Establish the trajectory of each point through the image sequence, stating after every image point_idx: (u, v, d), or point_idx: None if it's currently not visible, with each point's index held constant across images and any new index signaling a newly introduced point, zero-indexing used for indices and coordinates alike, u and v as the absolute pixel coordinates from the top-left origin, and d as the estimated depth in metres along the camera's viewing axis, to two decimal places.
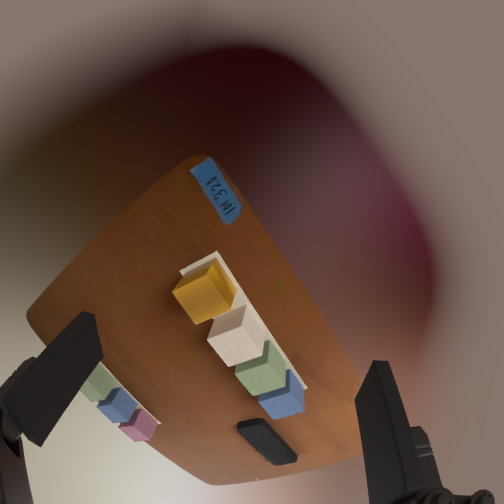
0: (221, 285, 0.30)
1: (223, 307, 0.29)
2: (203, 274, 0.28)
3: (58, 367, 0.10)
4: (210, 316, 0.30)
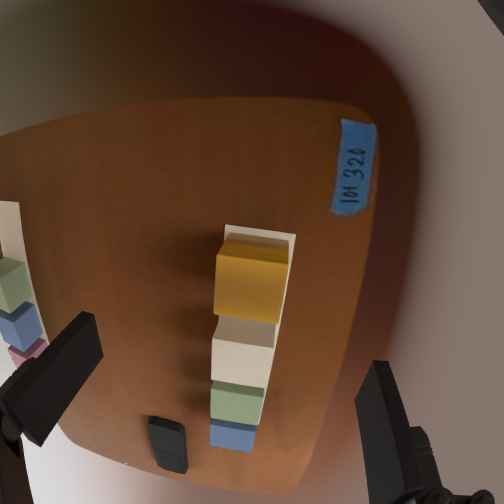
0: None
1: (273, 316, 0.19)
2: (281, 261, 0.18)
3: (58, 367, 0.10)
4: (244, 316, 0.19)
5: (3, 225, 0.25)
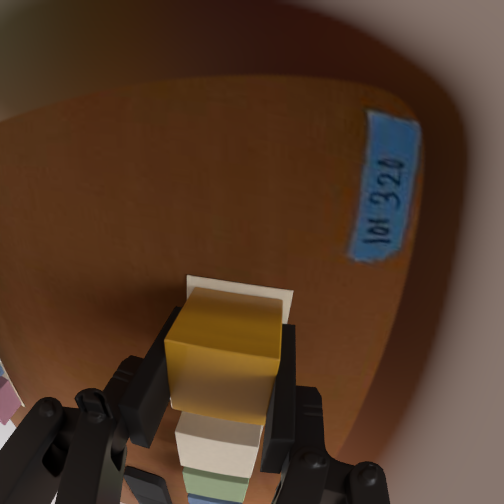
0: None
1: (256, 418, 0.12)
2: (269, 351, 0.11)
3: None
4: (215, 415, 0.12)
5: None
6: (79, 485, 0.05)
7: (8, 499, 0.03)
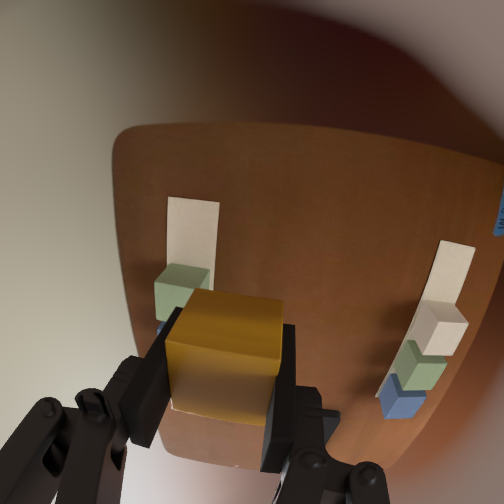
0: None
1: (257, 419, 0.12)
2: (270, 352, 0.11)
3: None
4: (216, 416, 0.12)
5: (179, 227, 0.29)
6: (79, 485, 0.05)
7: (8, 499, 0.03)
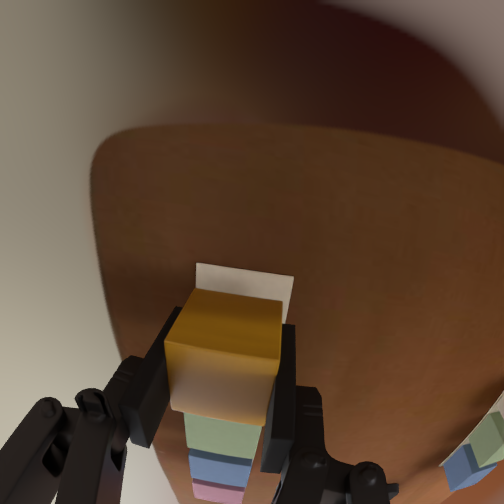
0: None
1: (256, 419, 0.12)
2: (269, 352, 0.11)
3: None
4: (215, 416, 0.12)
5: None
6: (79, 485, 0.05)
7: (8, 499, 0.03)
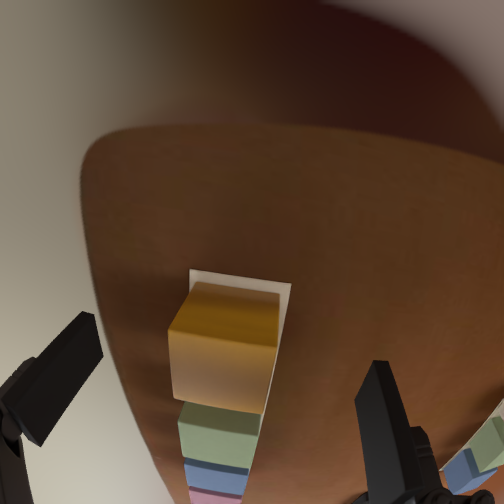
0: None
1: (255, 407, 0.12)
2: (266, 340, 0.11)
3: (58, 367, 0.10)
4: (215, 404, 0.13)
5: None
6: None
7: None
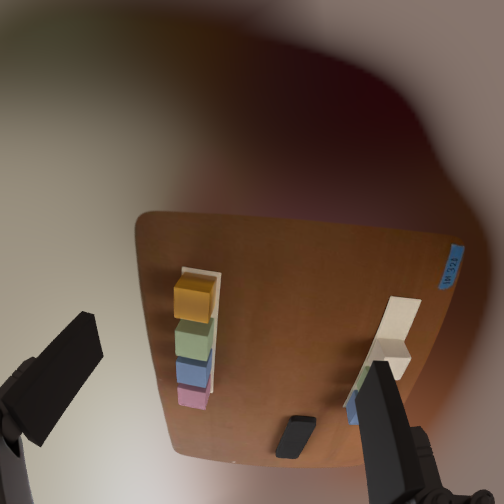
0: (211, 302, 0.36)
1: (204, 319, 0.35)
2: (206, 291, 0.34)
3: (58, 367, 0.10)
4: (190, 319, 0.36)
5: None
6: None
7: None
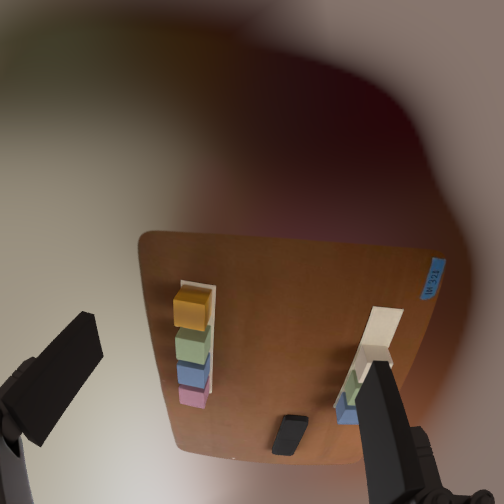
0: (207, 312, 0.40)
1: (201, 328, 0.39)
2: (202, 302, 0.38)
3: (58, 367, 0.10)
4: (188, 327, 0.40)
5: None
6: None
7: None
